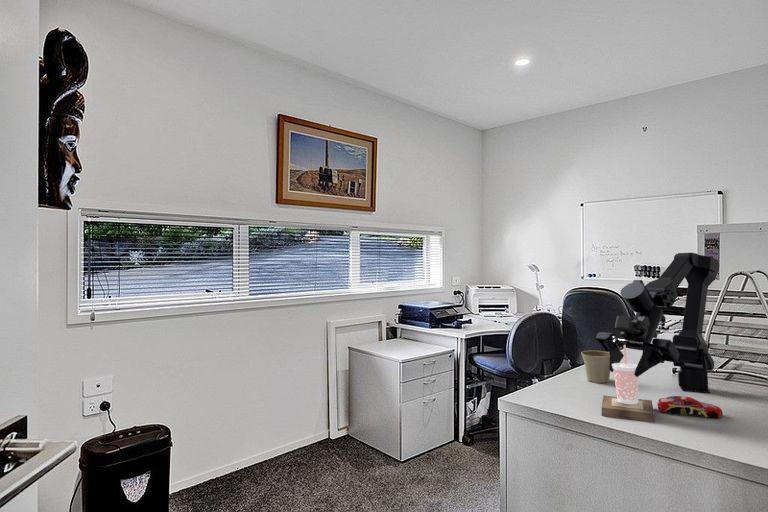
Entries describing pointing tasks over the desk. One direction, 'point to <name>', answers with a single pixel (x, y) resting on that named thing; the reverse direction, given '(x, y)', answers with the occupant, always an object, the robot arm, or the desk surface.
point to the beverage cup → (626, 381)
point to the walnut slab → (628, 409)
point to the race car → (688, 407)
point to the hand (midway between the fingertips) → (622, 373)
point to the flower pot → (597, 366)
